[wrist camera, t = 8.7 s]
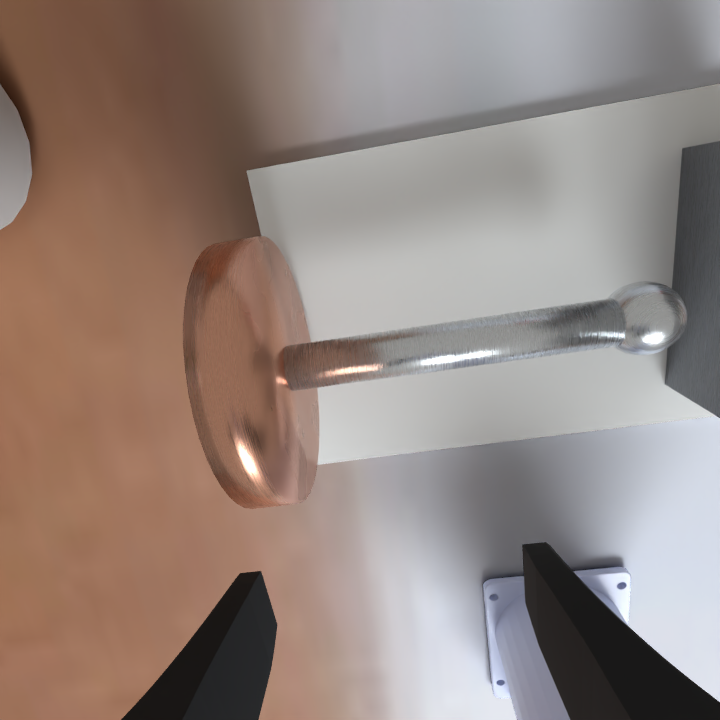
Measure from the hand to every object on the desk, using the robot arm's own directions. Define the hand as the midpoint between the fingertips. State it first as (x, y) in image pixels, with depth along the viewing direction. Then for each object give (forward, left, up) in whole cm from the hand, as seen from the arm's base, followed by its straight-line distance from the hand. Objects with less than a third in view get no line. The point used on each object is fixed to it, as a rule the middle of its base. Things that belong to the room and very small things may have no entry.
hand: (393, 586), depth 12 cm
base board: (+5, -9, -10) cm, 15 cm away
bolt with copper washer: (+5, -2, -9) cm, 11 cm away
